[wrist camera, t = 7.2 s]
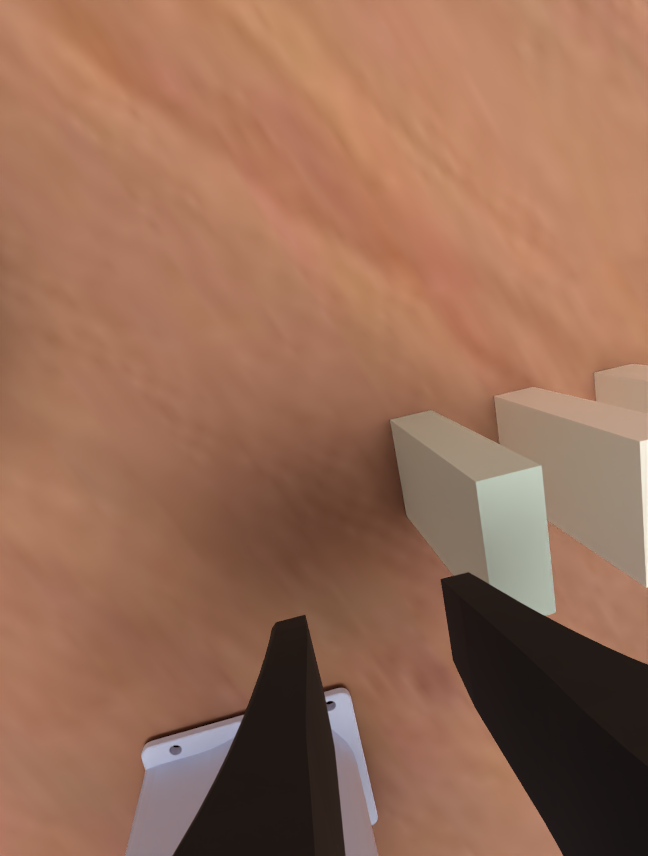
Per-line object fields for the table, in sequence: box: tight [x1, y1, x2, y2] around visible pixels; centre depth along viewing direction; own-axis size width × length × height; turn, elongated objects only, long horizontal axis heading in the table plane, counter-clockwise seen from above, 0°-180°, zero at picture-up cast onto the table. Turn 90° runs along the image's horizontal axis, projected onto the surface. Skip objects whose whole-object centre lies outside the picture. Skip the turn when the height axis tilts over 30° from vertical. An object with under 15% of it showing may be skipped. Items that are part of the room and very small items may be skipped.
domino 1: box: [390, 410, 556, 616], centre depth 17 cm, size 2×4×8 cm, turn 12°
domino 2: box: [494, 387, 648, 588], centre depth 17 cm, size 2×4×8 cm, turn 11°
